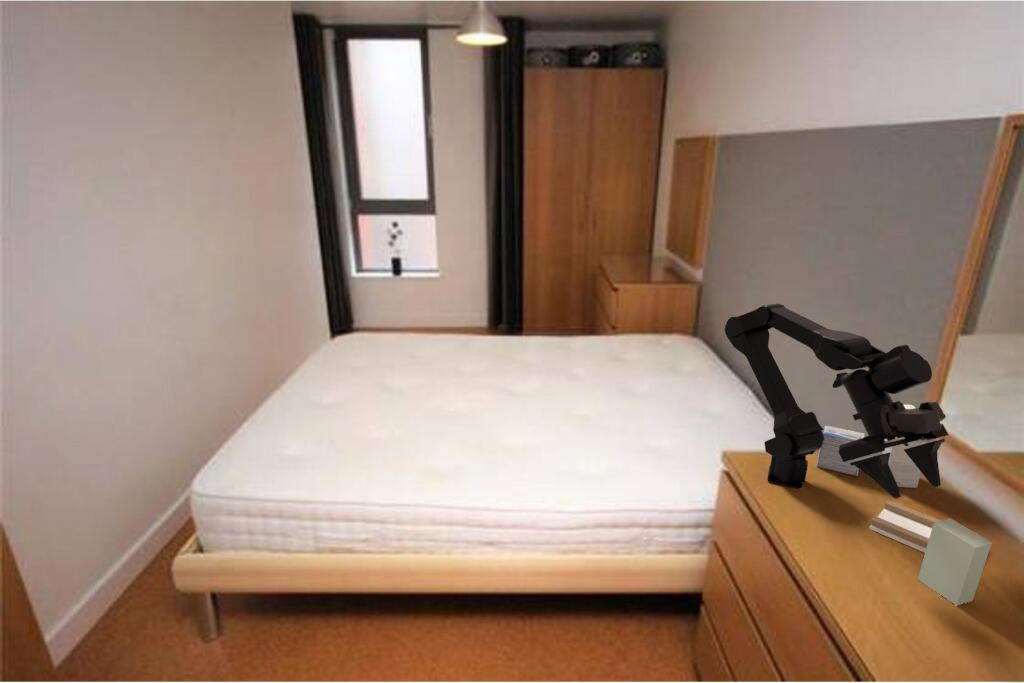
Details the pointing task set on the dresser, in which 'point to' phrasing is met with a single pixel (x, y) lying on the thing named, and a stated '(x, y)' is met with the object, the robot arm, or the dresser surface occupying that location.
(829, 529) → the dresser surface
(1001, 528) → the dresser surface
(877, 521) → the track
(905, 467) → the skincare box
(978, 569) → the door panel
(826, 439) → the medicine box
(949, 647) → the dresser surface
